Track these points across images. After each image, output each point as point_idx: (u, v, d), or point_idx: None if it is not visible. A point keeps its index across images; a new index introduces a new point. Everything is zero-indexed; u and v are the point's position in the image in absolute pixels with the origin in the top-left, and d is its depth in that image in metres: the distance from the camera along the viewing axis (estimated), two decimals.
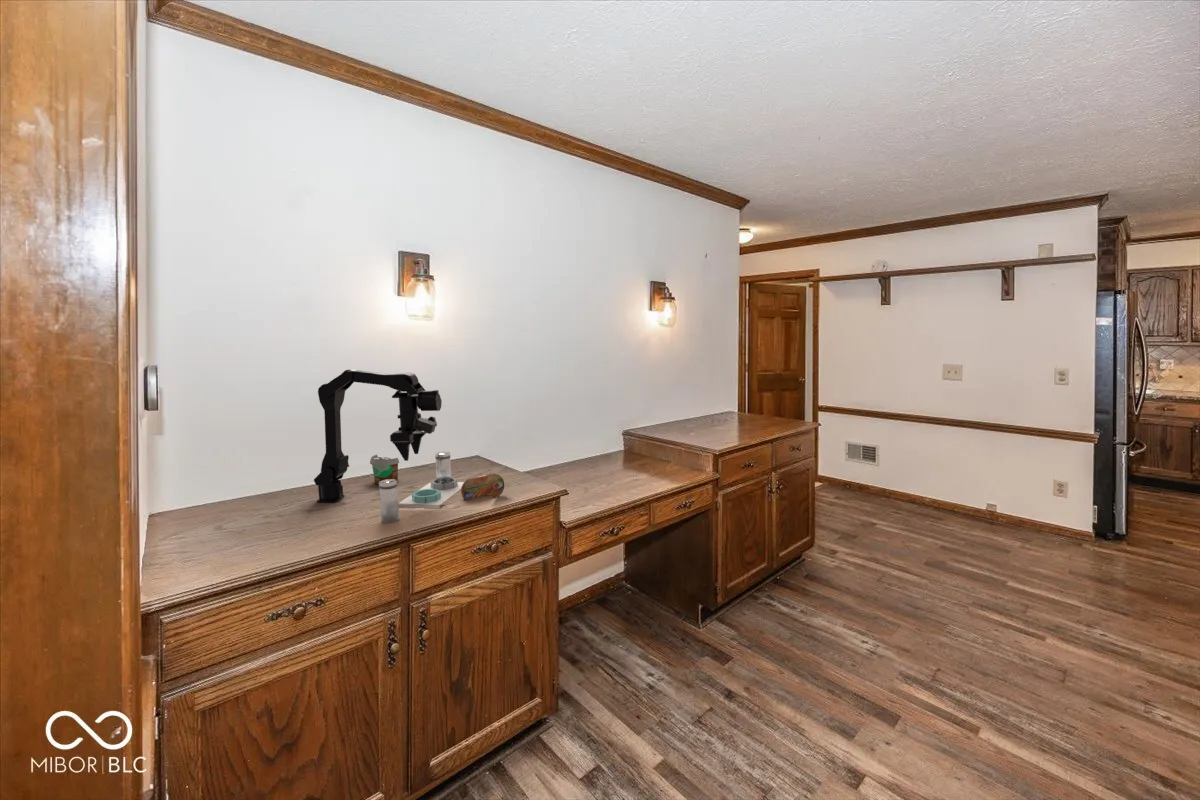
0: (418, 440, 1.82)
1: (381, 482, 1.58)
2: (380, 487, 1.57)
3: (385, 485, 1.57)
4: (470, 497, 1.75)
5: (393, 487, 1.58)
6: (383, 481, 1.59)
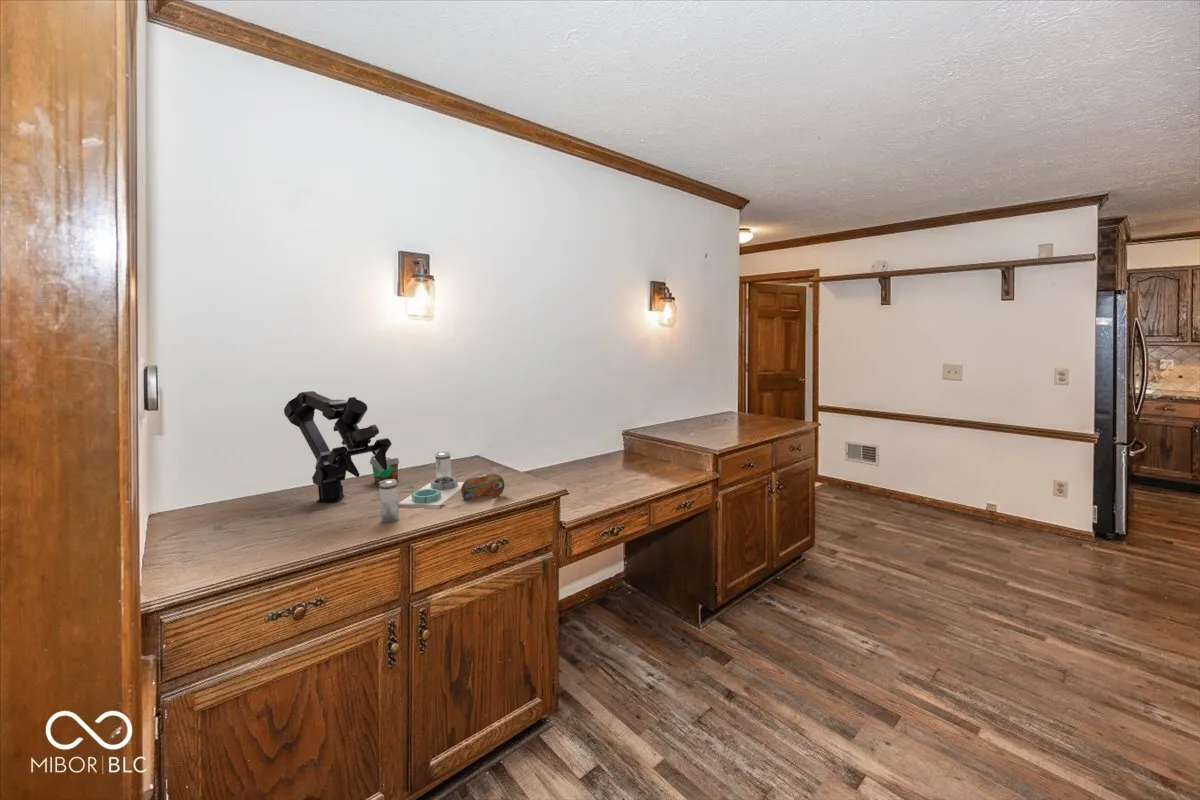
0: (381, 456, 1.68)
1: (381, 482, 1.58)
2: (380, 487, 1.57)
3: (385, 485, 1.57)
4: (470, 497, 1.75)
5: (393, 487, 1.58)
6: (383, 481, 1.59)
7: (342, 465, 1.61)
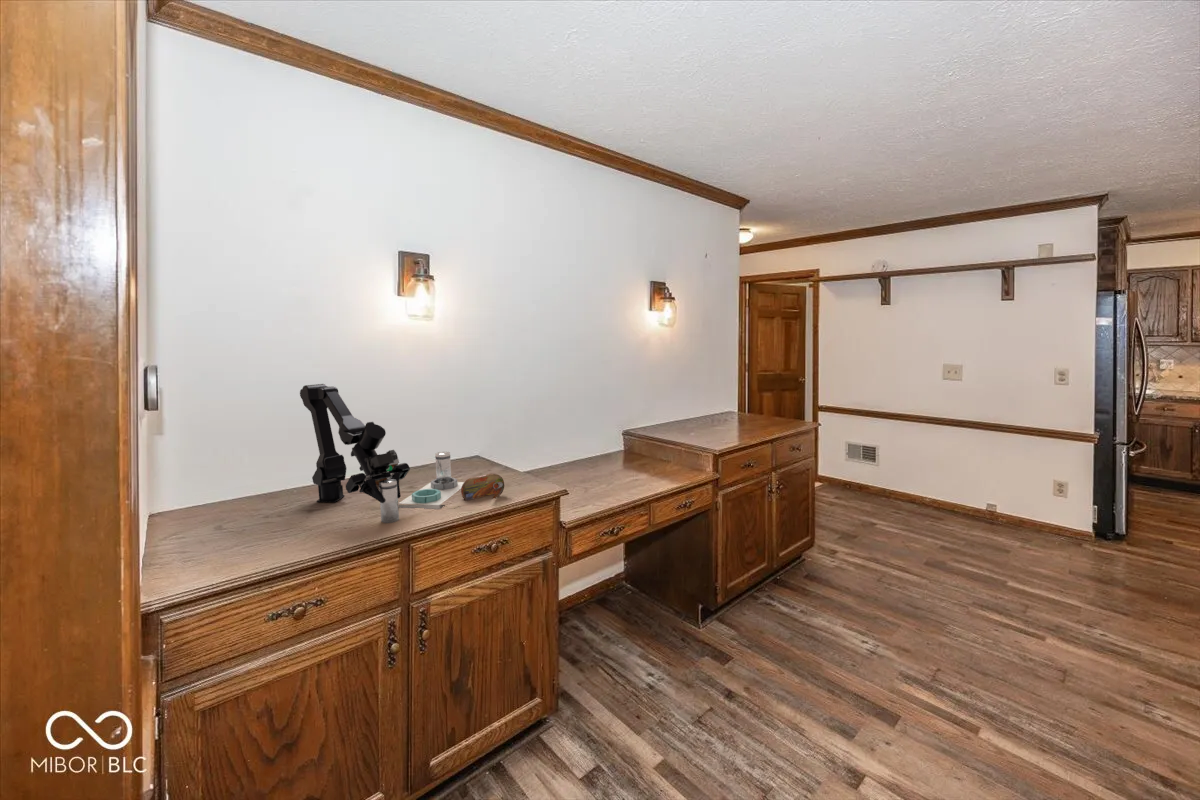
0: None
1: (381, 482, 1.58)
2: (380, 487, 1.57)
3: (385, 485, 1.57)
4: (470, 497, 1.75)
5: (393, 487, 1.58)
6: (383, 481, 1.59)
7: (366, 491, 1.58)
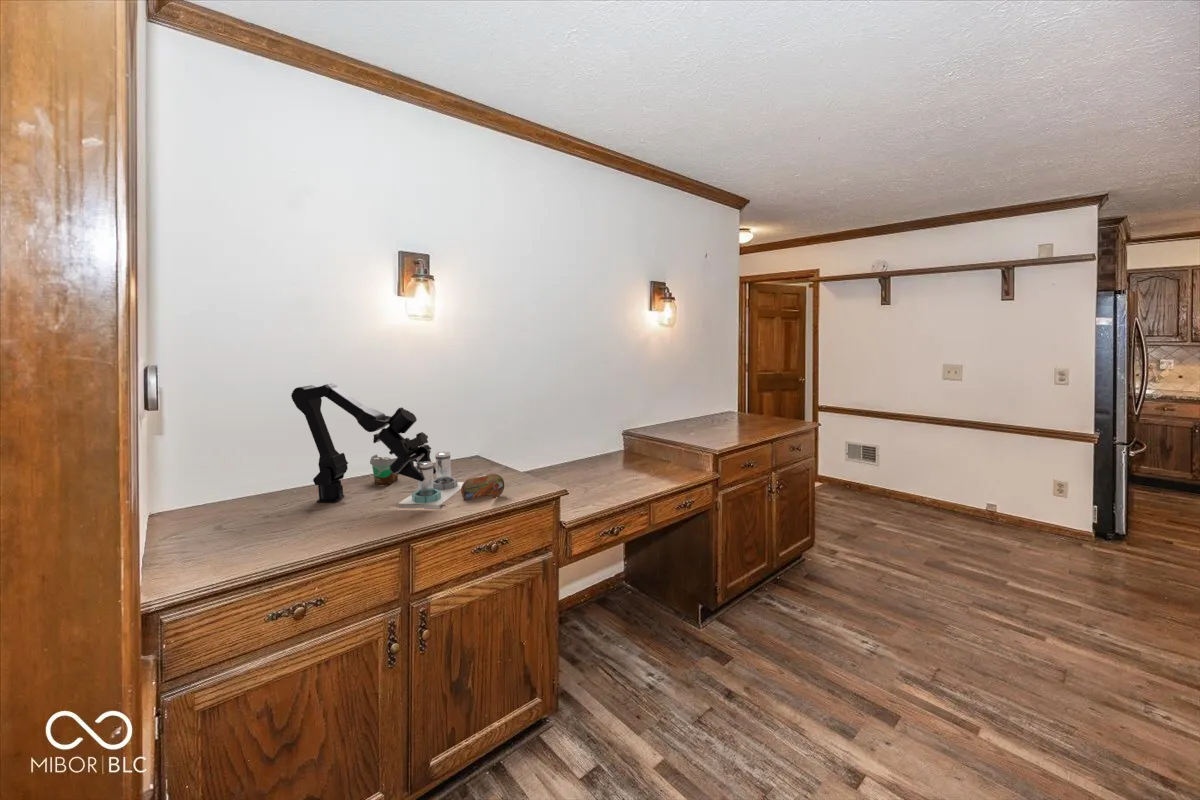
0: None
1: (420, 464, 1.73)
2: (421, 468, 1.72)
3: (427, 466, 1.72)
4: (470, 497, 1.75)
5: (432, 467, 1.74)
6: (421, 463, 1.73)
7: (404, 472, 1.69)
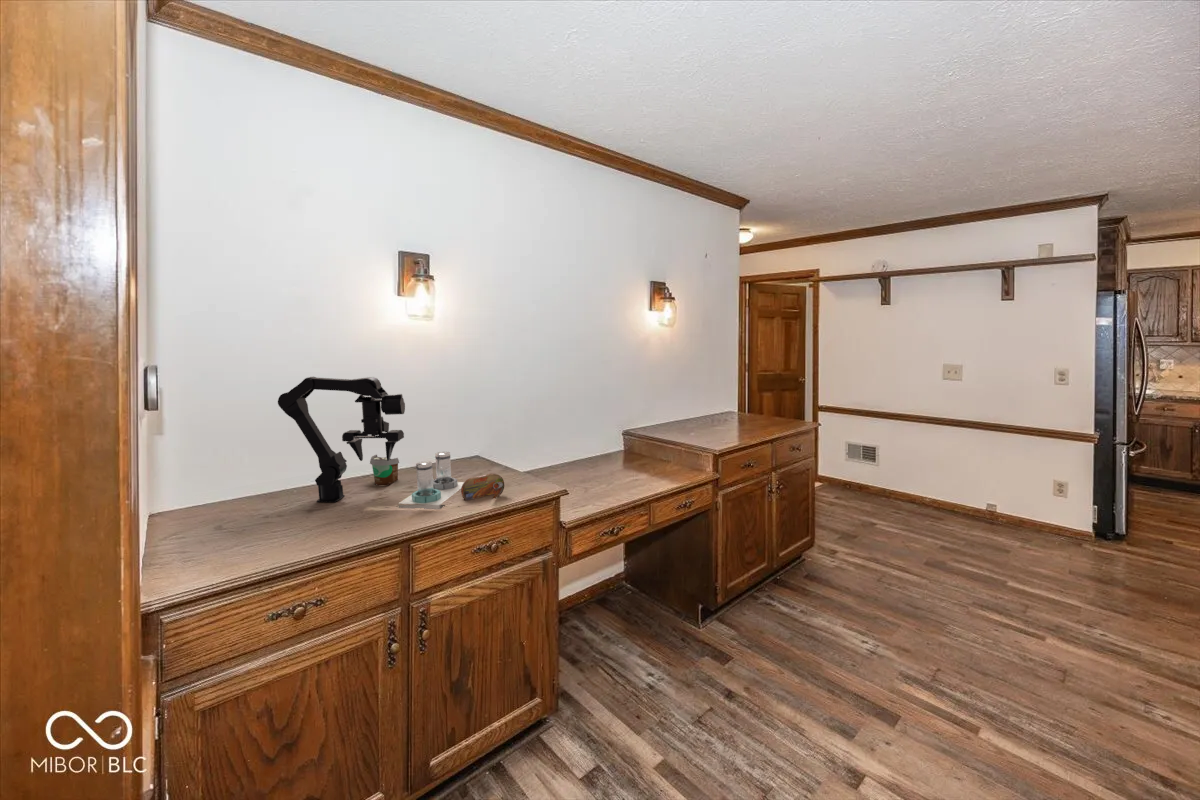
0: (361, 446, 1.81)
1: (419, 464, 1.72)
2: (421, 468, 1.72)
3: (426, 466, 1.72)
4: (470, 497, 1.75)
5: (431, 467, 1.74)
6: (420, 463, 1.73)
7: (391, 444, 1.78)
